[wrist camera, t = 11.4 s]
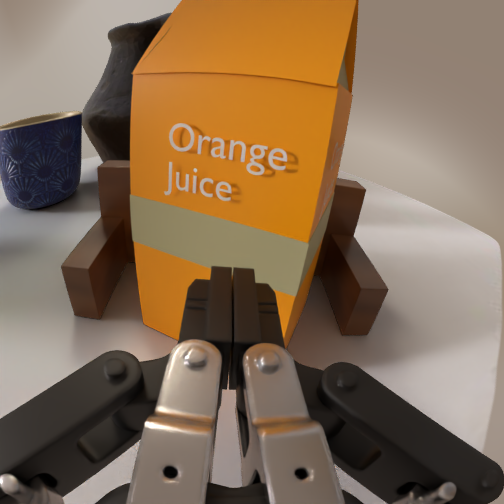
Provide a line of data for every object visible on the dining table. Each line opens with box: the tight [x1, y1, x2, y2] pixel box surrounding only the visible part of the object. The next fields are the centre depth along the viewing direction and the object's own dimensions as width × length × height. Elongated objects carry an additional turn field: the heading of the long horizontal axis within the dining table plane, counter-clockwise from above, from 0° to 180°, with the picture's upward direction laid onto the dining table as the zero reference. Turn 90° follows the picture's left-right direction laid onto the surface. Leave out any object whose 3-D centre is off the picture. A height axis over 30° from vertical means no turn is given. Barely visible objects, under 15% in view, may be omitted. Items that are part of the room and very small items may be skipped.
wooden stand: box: [61, 160, 388, 335], centre depth 20 cm, size 9×20×8 cm, turn 93°
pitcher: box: [82, 13, 172, 163], centre depth 41 cm, size 21×22×25 cm
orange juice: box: [130, 0, 358, 349], centre depth 15 cm, size 8×9×20 cm
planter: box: [0, 111, 82, 209], centre depth 31 cm, size 12×12×11 cm
